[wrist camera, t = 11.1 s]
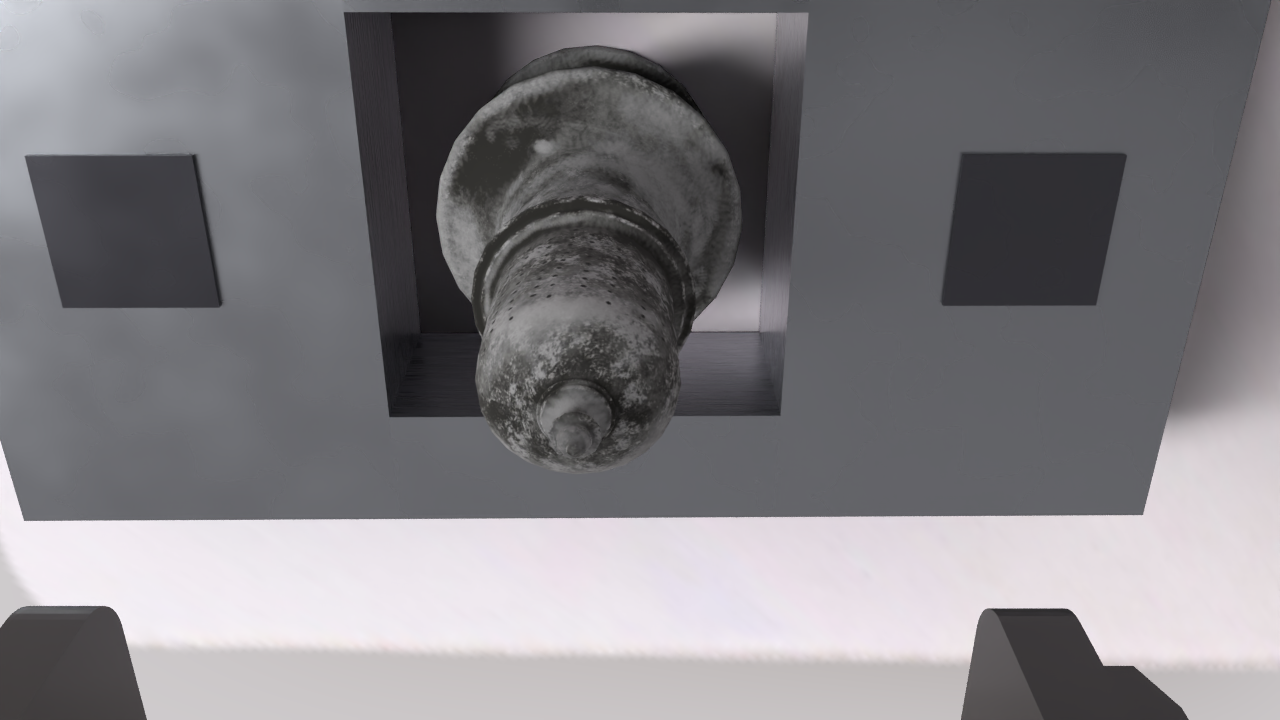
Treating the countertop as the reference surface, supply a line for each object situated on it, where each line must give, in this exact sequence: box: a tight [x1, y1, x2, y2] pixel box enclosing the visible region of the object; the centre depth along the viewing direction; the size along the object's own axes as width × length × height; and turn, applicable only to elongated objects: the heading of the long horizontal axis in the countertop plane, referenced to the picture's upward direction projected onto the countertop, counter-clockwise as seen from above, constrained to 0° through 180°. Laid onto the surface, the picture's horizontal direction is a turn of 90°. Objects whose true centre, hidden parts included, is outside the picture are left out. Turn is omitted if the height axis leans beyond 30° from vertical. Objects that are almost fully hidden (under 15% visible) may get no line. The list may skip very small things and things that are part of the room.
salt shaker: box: [436, 46, 742, 474], centre depth 19 cm, size 6×6×12 cm
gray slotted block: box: [0, 0, 1271, 521], centre depth 23 cm, size 24×13×4 cm, turn 90°
